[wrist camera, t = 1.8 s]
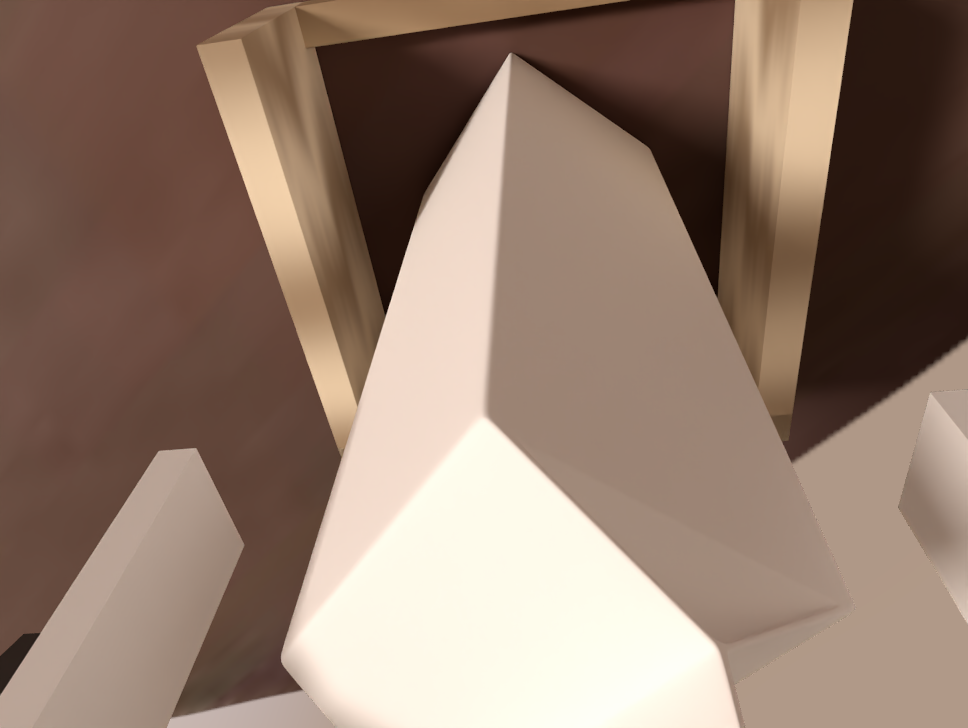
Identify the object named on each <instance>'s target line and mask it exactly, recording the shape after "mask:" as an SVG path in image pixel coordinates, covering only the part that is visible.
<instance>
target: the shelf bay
mask: <svg viewBox="0 0 968 728" xmlns="http://www.w3.org/2000/svg"><path fill="white" fill-rule="evenodd" d="M621 1H628V0H312V1H305V2H299V3H292V4H286V5H280V6H273V7H267V8H266V9H264V10H262V11H260V12H258V13H256V14H254V15H252V16H251V17H249V18H247V19H245V20H243V21H241V22H239V23H237V24H236V25H234V26H232V27H230V28H228V29H226V30H224V31H222V32H221V33H219V34H217V35H215V36H213V37H211V38H209V39H208V40H206V41H204V42H202V43H200V44H198V45H196V46H197V49H198V52H199V55H200V57H201V60H202V63H203V66H204V69H205V72H206V75H207V77H208V80H209V83H210V86H211V89H212V92H213V94H214V97H215V100H216V103H217V106H218V109H219V111H220V114H221V117H222V120H223V123H224V126H225V128H226V131H227V134H228V137H229V140H230V143H231V146H232V148H233V151H234V154H235V157H236V160H237V163H238V165H239V168H240V171H241V174H242V177H243V180H244V182H245V185H246V188H247V191H248V194H249V197H250V200H251V202H252V205H253V208H254V211H255V214H256V217H257V219H258V222H259V225H260V228H261V231H262V234H263V236H264V239H265V242H266V245H267V248H268V251H269V254H270V256H271V259H272V262H273V265H274V268H275V271H276V273H277V276H278V279H279V282H280V285H281V288H282V290H283V293H284V296H285V299H286V302H287V305H288V308H289V310H290V313H291V316H292V319H293V322H294V325H295V327H296V330H297V333H298V336H299V339H300V342H301V344H302V347H303V350H304V353H305V356H306V359H307V362H308V364H309V367H310V370H311V373H312V376H313V379H314V381H315V384H316V387H317V390H318V393H319V396H320V398H321V401H322V404H323V407H324V410H325V413H326V415H327V418H328V421H329V424H330V427H331V430H332V433H333V435H334V438H335V441H336V444H337V447H338V450H339V452H340V455H341V458H342V456H343V453H344V450H345V446H346V443H347V440H348V437H349V434H350V430H351V427H352V424H353V421H354V418H355V414H356V411H357V408H358V405H359V401H360V398H361V395H362V392H363V389H364V385H365V382H366V379H367V376H368V372H369V369H370V366H371V363H372V360H373V356H374V353H375V350H376V347H377V343H378V340H379V337H380V334H381V331H382V327H383V324H384V321H385V318H386V317H385V314H384V310H383V306H382V302H381V298H380V294H379V291H378V287H377V283H376V279H375V275H374V271H373V268H372V264H371V260H370V256H369V252H368V249H367V245H366V241H365V237H364V233H363V229H362V226H361V222H360V218H359V214H358V210H357V206H356V203H355V199H354V195H353V191H352V187H351V183H350V180H349V176H348V172H347V168H346V164H345V160H344V157H343V153H342V149H341V145H340V141H339V137H338V134H337V130H336V126H335V122H334V118H333V114H332V111H331V107H330V103H329V99H328V95H327V91H326V88H325V84H324V80H323V76H322V72H321V69H320V65H319V61H318V57H317V53H316V49H315V47H317V46H324V45H331V44H337V43H344V42H351V41H358V40H364V39H371V38H378V37H385V36H392V35H398V34H405V33H412V32H419V31H425V30H432V29H439V28H446V27H452V26H459V25H466V24H473V23H479V22H486V21H493V20H500V19H506V18H513V17H520V16H527V15H533V14H540V13H547V12H554V11H560V10H567V9H574V8H581V7H587V6H594V5H601V4H608V3H614V2H621ZM852 6H853V0H735V15H734V32H733V49H732V65H731V82H730V98H729V115H728V132H727V148H726V165H725V182H724V198H723V215H722V232H721V248H720V265H719V281H718V298H717V299H718V301H719V304H720V306H721V308H722V310H723V312H724V315H725V317H726V319H727V321H728V324H729V326H730V328H731V330H732V332H733V335H734V337H735V339H736V341H737V344H738V346H739V348H740V350H741V352H742V355H743V357H744V359H745V361H746V364H747V366H748V368H749V370H750V372H751V375H752V377H753V379H754V381H755V384H756V386H757V388H758V390H759V392H760V395H761V397H762V399H763V401H764V404H765V406H766V408H767V410H768V412H769V415H770V417H771V419H772V421H773V424H774V426H775V428H776V430H777V432H778V435H779V437H780V439H781V441H788V439H789V432H790V426H791V419H792V412H793V405H794V398H795V392H796V385H797V378H798V371H799V365H800V358H801V351H802V344H803V337H804V331H805V324H806V317H807V310H808V304H809V297H810V290H811V283H812V276H813V270H814V263H815V256H816V249H817V243H818V236H819V229H820V222H821V216H822V209H823V202H824V195H825V188H826V182H827V175H828V168H829V161H830V155H831V148H832V141H833V134H834V127H835V121H836V114H837V107H838V100H839V94H840V87H841V80H842V73H843V66H844V60H845V53H846V46H847V39H848V33H849V26H850V19H851V12H852Z"/></svg>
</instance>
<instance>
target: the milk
mask: <svg viewBox="0 0 968 728" xmlns="http://www.w3.org/2000/svg"><path fill="white" fill-rule="evenodd" d="M855 608H856V607H855V604H854V602H853V599H852V597H851V595H850V592H849V590H848V588H847V586H846V584H845V581H844V579H843V577H842V575H841V573H840V570H839V568H838V566H837V563H836V561H835V559H834V557H833V555H832V552H831V550H830V548H829V546H828V543H827V541H826V539H825V537H824V535H823V532H822V530H821V528H820V526H819V524H818V521H817V519H816V517H815V515H814V512H813V510H812V508H811V506H810V503H809V501H808V499H807V497H806V495H805V493H804V490H803V488H802V486H801V483H800V481H799V479H798V477H797V475H796V472H795V470H794V468H793V466H792V464H791V461H790V459H789V457H788V455H787V452H786V450H785V448H784V446H783V444H782V441H781V439H780V437H779V435H778V432H777V430H776V428H775V426H774V424H773V421H772V419H771V417H770V415H769V412H768V410H767V408H766V406H765V404H764V401H763V399H762V397H761V395H760V392H759V390H758V388H757V386H756V384H755V381H754V379H753V377H752V375H751V372H750V370H749V368H748V366H747V364H746V361H745V359H744V357H743V355H742V352H741V350H740V348H739V346H738V344H737V341H736V339H735V337H734V335H733V332H732V330H731V328H730V326H729V324H728V321H727V319H726V317H725V315H724V312H723V310H722V308H721V306H720V304H719V301H718V299H717V297H716V295H715V292H714V290H713V288H712V286H711V284H710V281H709V279H708V277H707V275H706V272H705V270H704V268H703V266H702V264H701V261H700V259H699V257H698V255H697V252H696V250H695V248H694V246H693V244H692V241H691V239H690V237H689V235H688V232H687V230H686V228H685V226H684V224H683V221H682V219H681V217H680V215H679V212H678V210H677V208H676V206H675V204H674V201H673V199H672V197H671V195H670V192H669V190H668V188H667V186H666V184H665V181H664V179H663V177H662V175H661V173H660V170H659V168H658V166H657V164H656V161H655V159H654V157H653V155H652V153H651V150H650V149H649V148H648V147H647V146H646V145H644V144H643V143H642V142H640V141H639V140H637V139H636V138H634V137H633V136H632V135H630V134H629V133H627V132H626V131H624V130H623V129H621V128H620V127H619V126H617V125H616V124H614V123H613V122H611V121H610V120H609V119H607V118H606V117H604V116H603V115H601V114H600V113H598V112H597V111H596V110H594V109H593V108H591V107H590V106H588V105H587V104H586V103H584V102H583V101H581V100H580V99H578V98H577V97H575V96H574V95H573V94H571V93H570V92H568V91H567V90H565V89H564V88H563V87H561V86H560V85H558V84H557V83H555V82H554V81H552V80H551V79H550V78H548V77H547V76H545V75H544V74H542V73H541V72H540V71H538V70H537V69H535V68H534V67H532V66H531V65H529V64H528V63H527V62H525V61H524V60H522V59H521V58H519V57H518V56H517V55H515V54H513V53H510V54H509V55H508V57H507V58H506V60H505V62H504V63H503V65H502V67H501V68H500V70H499V71H498V73H497V75H496V76H495V78H494V80H493V81H492V83H491V85H490V86H489V88H488V90H487V91H486V93H485V94H484V96H483V98H482V99H481V101H480V103H479V104H478V106H477V108H476V109H475V111H474V113H473V114H472V116H471V117H470V119H469V121H468V122H467V124H466V126H465V127H464V129H463V131H462V132H461V134H460V136H459V137H458V139H457V141H456V142H455V144H454V145H453V147H452V149H451V150H450V152H449V154H448V155H447V157H446V159H445V160H444V162H443V164H442V165H441V167H440V168H439V170H438V172H437V173H436V175H435V177H434V178H433V180H432V182H431V183H430V185H429V187H428V188H427V190H426V192H425V193H424V196H423V199H422V202H421V205H420V208H419V212H418V215H417V218H416V221H415V224H414V228H413V231H412V234H411V237H410V240H409V244H408V247H407V250H406V253H405V257H404V260H403V263H402V266H401V269H400V273H399V276H398V279H397V282H396V286H395V289H394V292H393V295H392V298H391V302H390V305H389V308H388V311H387V315H386V318H385V321H384V324H383V327H382V331H381V334H380V337H379V340H378V343H377V347H376V350H375V353H374V356H373V360H372V363H371V366H370V369H369V372H368V376H367V379H366V382H365V385H364V389H363V392H362V395H361V398H360V401H359V405H358V408H357V411H356V414H355V418H354V421H353V424H352V427H351V430H350V434H349V437H348V440H347V443H346V446H345V450H344V453H343V456H342V459H341V463H340V466H339V469H338V472H337V475H336V479H335V482H334V485H333V488H332V492H331V495H330V498H329V501H328V504H327V508H326V511H325V514H324V517H323V521H322V524H321V527H320V530H319V533H318V537H317V540H316V543H315V546H314V549H313V553H312V556H311V559H310V562H309V566H308V569H307V572H306V575H305V578H304V582H303V585H302V588H301V591H300V595H299V598H298V601H297V604H296V607H295V611H294V614H293V617H292V620H291V624H290V627H289V630H288V633H287V636H286V640H285V643H284V646H283V650H282V654H281V661H282V664H283V666H284V667H285V668H286V670H287V671H288V672H289V674H290V675H291V676H292V677H293V678H294V680H295V681H296V682H297V683H298V684H299V685H300V687H301V688H302V689H303V690H304V691H305V692H306V694H307V695H308V696H309V697H310V698H311V699H312V701H314V703H315V704H316V705H317V706H318V708H319V709H320V710H321V711H322V712H323V713H324V715H325V716H326V717H327V718H328V719H329V720H330V722H331V723H332V724H333V725H334V726H335V727H336V728H745V724H744V720H743V716H742V712H741V708H740V705H739V701H738V697H737V693H736V689H735V684H737V683H739V682H740V681H742V680H744V679H745V678H747V677H749V676H750V675H752V674H753V673H755V672H757V671H758V670H760V669H761V668H763V667H765V666H767V665H768V664H770V663H771V662H773V661H775V660H776V659H778V658H780V657H781V656H783V655H785V654H786V653H788V652H790V651H791V650H793V649H794V648H796V647H798V646H799V645H801V644H802V643H804V642H806V641H808V640H809V639H811V638H812V637H814V636H816V635H817V634H819V633H821V632H822V631H824V630H826V629H827V628H829V627H830V626H832V625H833V624H835V623H837V622H839V621H840V620H842V619H844V618H845V617H847V616H848V615H850V614H851V613H853V612H854V611H855Z"/></svg>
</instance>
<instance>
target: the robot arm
mask: <svg viewBox="0 0 968 728" xmlns="http://www.w3.org/2000/svg"><path fill="white" fill-rule="evenodd" d="M898 508H899V510H900V511H901V513H902V515H903V517H904V518H905V520H906V521H907V523H908V525H909V526H910V528H911V530H912V532H913V533H914V535H915V537H916V538H917V540H918V542H919V543H920V545H921V547H922V548H923V550H924V552H925V553H926V555H927V557H928V558H929V560H930V562H931V563H932V565H933V567H934V569H935V570H936V572H937V574H938V575H939V577H940V579H941V580H942V582H943V584H944V585H945V587H946V589H947V590H948V592H949V594H950V595H951V597H952V599H953V600H954V602H955V604H956V606H957V607H958V609H959V611H960V612H961V614H962V616H963V617H964V619H965V621H966V622H967V624H968V389H965V390H952V391H940V392H930V394H929V398H928V401H927V405H926V409H925V412H924V416H923V420H922V423H921V427H920V430H919V434H918V437H917V441H916V445H915V448H914V452H913V455H912V459H911V463H910V466H909V470H908V473H907V477H906V481H905V484H904V488H903V492H902V495H901V499H900V502H899V506H898ZM243 547H244V543H243V541H242V539H241V537H240V535H239V533H238V531H237V529H236V527H235V525H234V523H233V521H232V519H231V517H230V515H229V513H228V511H227V509H226V507H225V505H224V503H223V501H222V499H221V497H220V495H219V493H218V491H217V489H216V487H215V485H214V483H213V481H212V479H211V477H210V475H209V473H208V471H207V469H206V467H205V465H204V463H203V461H202V459H201V457H200V455H199V453H198V451H197V449H196V448H192V449H179V450H166V451H158V453H157V455H156V456H155V458H154V459H153V461H152V462H151V464H150V465H149V467H148V468H147V470H146V471H145V473H144V475H143V476H142V478H141V479H140V481H139V482H138V484H137V485H136V487H135V488H134V490H133V492H132V493H131V495H130V496H129V498H128V499H127V501H126V502H125V504H124V505H123V507H122V509H121V510H120V512H119V513H118V515H117V516H116V518H115V519H114V521H113V522H112V524H111V525H110V527H109V529H108V530H107V532H106V533H105V535H104V536H103V538H102V539H101V541H100V542H99V544H98V546H97V547H96V549H95V550H94V552H93V553H92V555H91V556H90V558H89V559H88V561H87V563H86V564H85V566H84V567H83V569H82V570H81V572H80V573H79V575H78V576H77V578H76V579H75V581H74V583H73V584H72V586H71V587H70V589H69V590H68V592H67V593H66V595H65V596H64V598H63V600H62V601H61V603H60V604H59V606H58V607H57V609H56V610H55V612H54V613H53V615H52V617H51V618H50V620H49V621H48V623H47V624H46V626H45V627H44V629H43V630H42V632H41V633H34V634H23V635H22V636H21V637H20V638H19V639H18V640H17V641H16V642H15V643H14V644H13V645H12V646H11V647H9V648H8V649H7V650H6V651H5V652H4V653H3V654H2V655H1V656H0V728H167V725H168V723H169V721H170V718H171V716H172V714H173V711H174V709H175V706H176V704H177V702H178V699H179V697H180V695H181V692H182V690H183V688H184V685H185V683H186V681H187V678H188V676H189V674H190V671H191V669H192V667H193V664H194V662H195V660H196V657H197V655H198V653H199V650H200V648H201V646H202V643H203V641H204V639H205V636H206V634H207V631H208V629H209V627H210V624H211V622H212V620H213V617H214V615H215V613H216V610H217V608H218V606H219V603H220V601H221V599H222V596H223V594H224V592H225V589H226V587H227V585H228V582H229V580H230V578H231V575H232V573H233V571H234V568H235V566H236V564H237V561H238V559H239V556H240V554H241V552H242V549H243Z"/></svg>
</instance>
